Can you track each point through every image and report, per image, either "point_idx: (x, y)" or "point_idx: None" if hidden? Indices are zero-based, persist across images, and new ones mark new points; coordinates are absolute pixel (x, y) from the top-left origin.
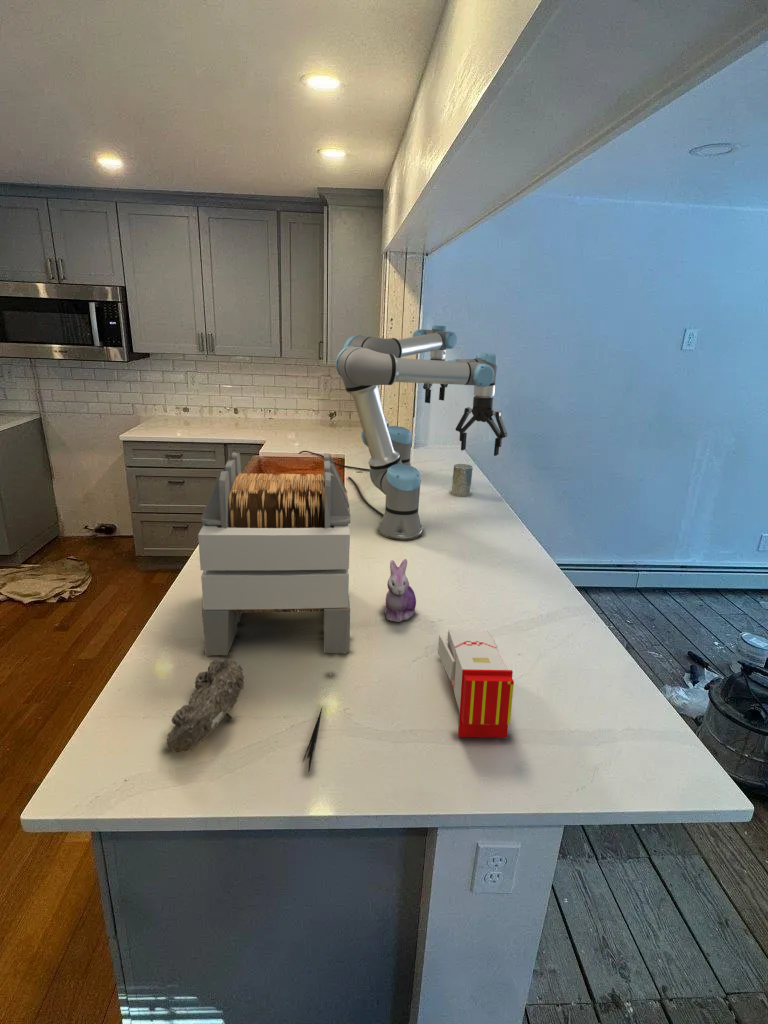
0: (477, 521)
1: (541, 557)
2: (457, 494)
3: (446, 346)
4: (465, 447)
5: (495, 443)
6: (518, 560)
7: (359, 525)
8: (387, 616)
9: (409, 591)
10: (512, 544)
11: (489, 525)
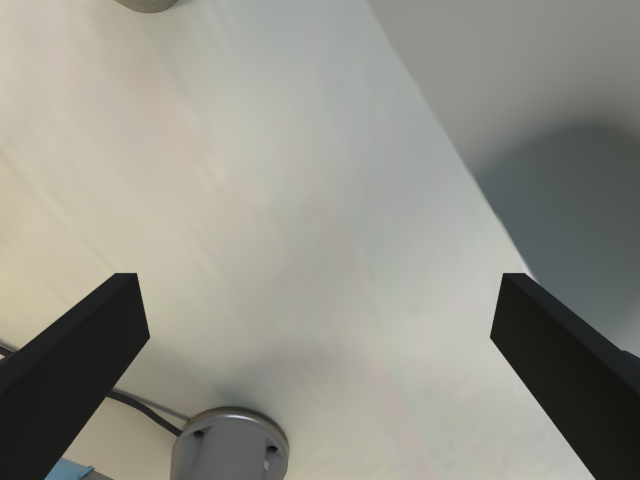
0: (366, 259)
1: None
2: (149, 10)
3: None
4: (127, 288)
5: (584, 450)
6: (544, 425)
7: (126, 469)
8: None
9: None
10: None
11: (413, 267)
